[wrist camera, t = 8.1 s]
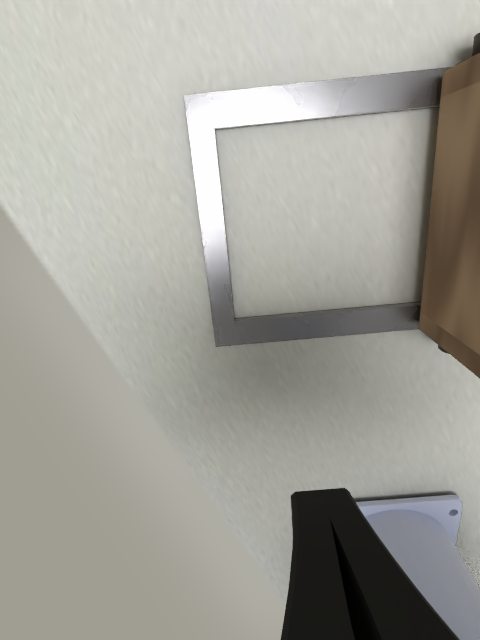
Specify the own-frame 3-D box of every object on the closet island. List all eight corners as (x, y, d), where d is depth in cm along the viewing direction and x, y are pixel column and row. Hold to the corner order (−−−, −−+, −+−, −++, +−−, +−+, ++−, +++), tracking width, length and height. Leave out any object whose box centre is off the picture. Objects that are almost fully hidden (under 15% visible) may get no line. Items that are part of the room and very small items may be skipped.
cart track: (679, 302, 17) (689, 305, 17) (216, 343, 18) (216, 346, 17) (778, 35, 13) (793, 31, 13) (185, 97, 14) (183, 95, 13)
